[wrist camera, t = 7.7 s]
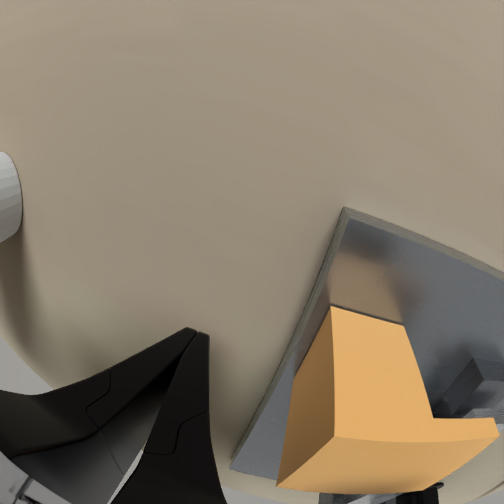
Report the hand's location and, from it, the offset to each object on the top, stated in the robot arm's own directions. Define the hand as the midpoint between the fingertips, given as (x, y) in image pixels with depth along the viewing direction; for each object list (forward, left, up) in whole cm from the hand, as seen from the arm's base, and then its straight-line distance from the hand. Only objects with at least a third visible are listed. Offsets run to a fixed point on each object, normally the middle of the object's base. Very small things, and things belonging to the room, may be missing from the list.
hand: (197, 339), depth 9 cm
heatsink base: (-5, -12, -3) cm, 14 cm away
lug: (0, -7, -1) cm, 7 cm away
